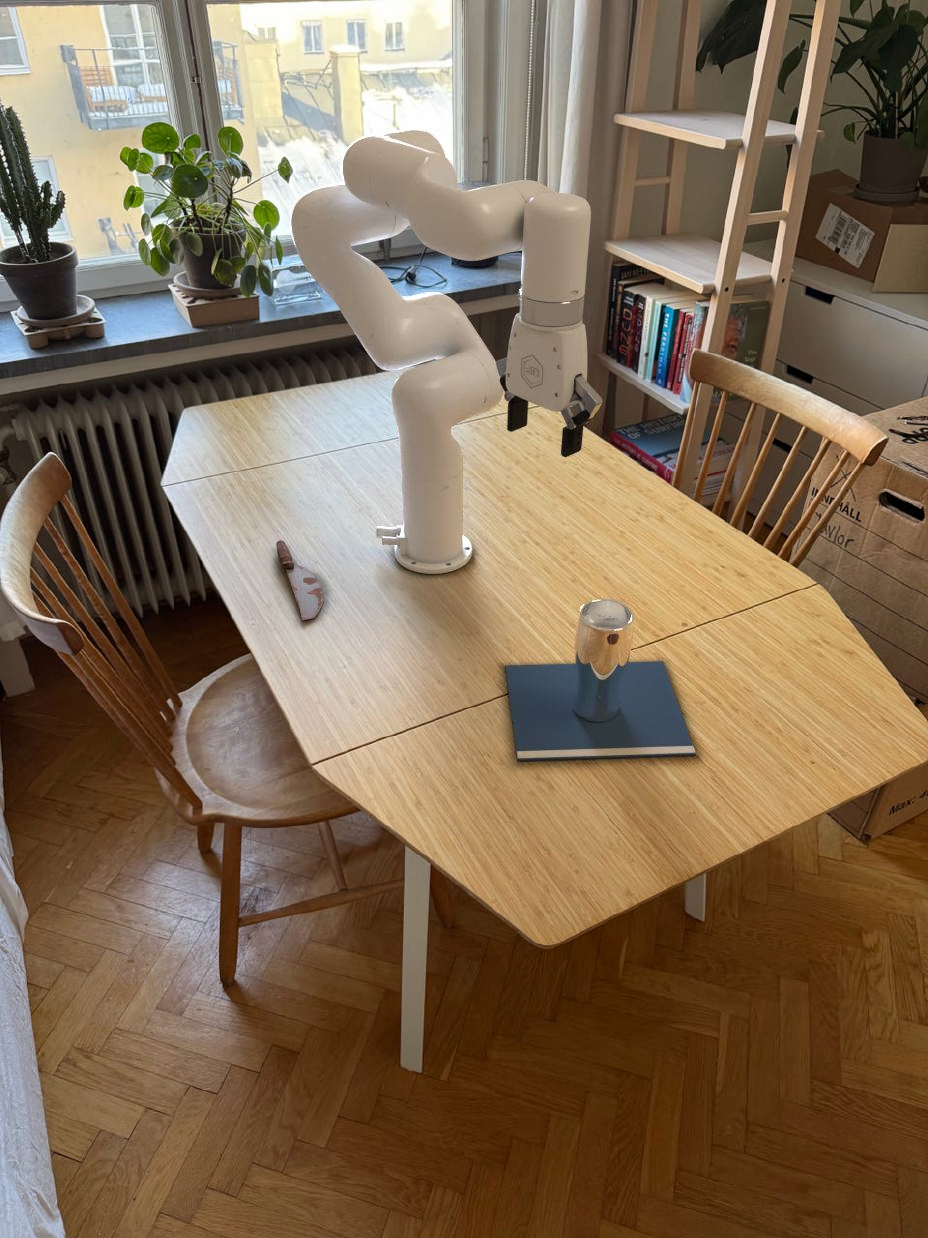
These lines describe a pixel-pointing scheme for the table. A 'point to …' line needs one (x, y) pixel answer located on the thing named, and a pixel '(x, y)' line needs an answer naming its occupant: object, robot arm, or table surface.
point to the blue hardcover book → (561, 734)
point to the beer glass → (601, 657)
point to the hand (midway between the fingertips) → (543, 440)
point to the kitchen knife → (301, 584)
